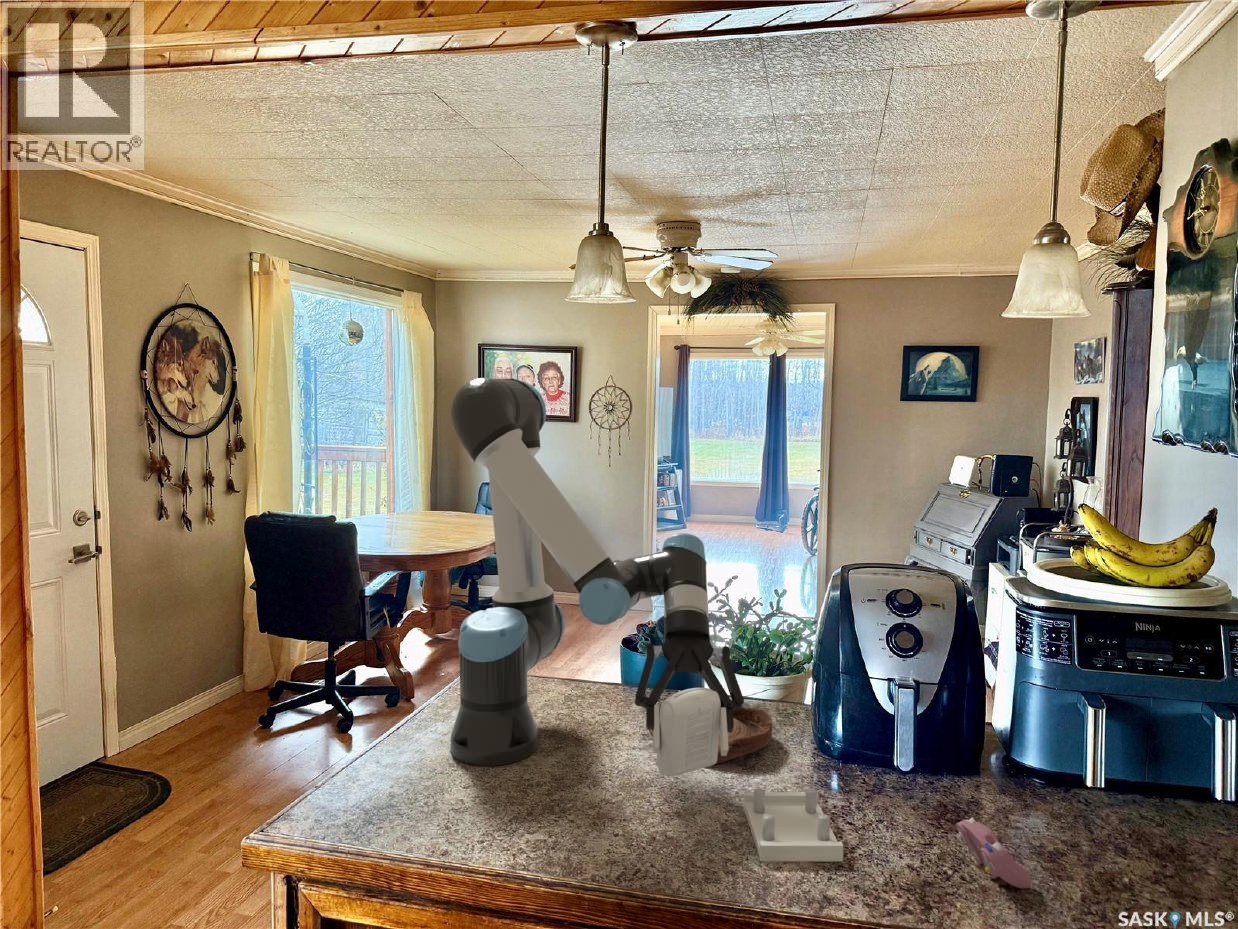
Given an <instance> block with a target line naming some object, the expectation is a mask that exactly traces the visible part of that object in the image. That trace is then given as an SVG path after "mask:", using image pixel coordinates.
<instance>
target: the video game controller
mask: <svg viewBox="0 0 1238 929" xmlns="http://www.w3.org/2000/svg"><path fill="white" fill-rule="evenodd" d="M955 828H956V830H957V832H958V833H956V837H957V840H958V841H959V842H960V843H962V844H963V843H965V845H967V847H968V848H969V850H970V852H971V853H972V855H973V857H974V858H975V860H977V862H978V863H979V864H980V865H984V871H985V872H986V873H987V874H989V875H990V876H991V877H992V878H993V879H994V880H995V879H997V878H999V877H1000V879H1002V880H1003V881H1005V882H1006V883H1008V884H1010V885H1011V886H1013V887H1015V888H1018V889H1021V890H1022V889H1023V890H1024V889H1029V888H1030V887H1031V885H1032V876H1031V874H1030V873H1029V871H1028V870H1026V869H1025V868H1024V867H1022V866H1021V865H1020V864H1019V863H1017V862H1016V861H1015V860H1014V859H1013V858H1012V857H1011V855H1010V854H1009V852H1008V851H1007V850H1006V849H1005V847H1004V846H1003V845H1002V844H1001V842H999V840H998V839H997V836H996V834H995V833H994V832H993V830H992V829H991V828H989V827H987V826H986V825H985V824H981V823H979V822H978V821H977V820H975V818H973V817H970V819H963V820H961V821H959V822H957V823H955Z"/></svg>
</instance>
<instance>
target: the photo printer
mask: <svg viewBox="0 0 1238 929" xmlns="http://www.w3.org/2000/svg"><path fill="white" fill-rule="evenodd" d="M661 703H662V704H661V707H660V720H659V731H660V748H659V752H658V753H657V754H656V755H657V757H656V758H657V761H656V763H657V764H656V765H657V768H658V771H659V773H660V774H662V775H663V776H666V777H677V776H679V775H680V776H681V775H684V774H688V773H691V772H694V771H696V770H701V769H704V768H708V767H711V766H713V765H715V763H716V762H717V756H718V740H719V724H720V709H721V702H720V698H719V695H718V693H717V692H716V691H713V690H712V689H710V688H709V687H692V688H687V689H684V690H680V691H678V692H675V693H674V694H671V695H670V696H668V697H666V698H665V699H664V700H663V701H662V702H661ZM716 764H717V763H716Z"/></svg>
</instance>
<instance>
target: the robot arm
mask: <svg viewBox="0 0 1238 929" xmlns="http://www.w3.org/2000/svg"><path fill="white" fill-rule="evenodd" d="M449 413H450V414H449V415H450V421H451V425H452V429H453V430H454V432H455V435H456V437H457V439H458V441H459V442H460V443H461V445H462V447H463V448H464V449H465V451H466V452H467V454H468V455H469V456H470V458H471V459H472V461H473V463H475V465H477V466H483V467H485V468H486V470H488V471H487V472H488V476H489V477H488V480H489V489H490V491H489V492H490V502H491V512H492V522H493V533H494V542H495V545H494V546H495V553H496V563H497V564H496V565H497V575H498V586H499V587H498V589H497V590H496V591H495V592H494V593H493V595H492V597H491V598H492V607H489V608H486V609H484V610H482V609H480V610H478V611H475V612H473V613H471V614H470V615H468V616H467V617H466V618H465V619H464V620H463V621H462V623H461V624H460V627H459V637H458V642H457V643H458V645H457V646H458V653H459V655H458V656H459V657H458V658H459V660H458V662H459V696H460V697H459V698H460V700H459V701H460V702H459V704H460V705H459V708H458V711H457V714H456V715H457V716H456V718H455V722H454V724H453V727H452V731H451V733H450V753H451V755H452V756H453V757H454V758H455V759H457V760H458V761H460V762H463V763H465V764H469V765H474V766H481V767H483V766H487V767H491V766H492V767H493V766H494V767H495V766H505V765H508V764H513V763H516V762H519V761H522V760H523V759H526V758H528V757H530V756H531V755H532V754H533V753H534V752H535V751H536V750H537V748H538V744H539V742H538V740H539V737H538V734H539V733H538V729H537V726H536V723H535V720H534V717H533V714H532V711H531V708H530V705H529V703H528V672H529V671H530V670H531V669H533V668H534V667H535V666H536V665H537V664H538V663H540V662H541V661H543V660H545V659H546V658H548V657H549V656H550V655H552V654H553V652H554V651H555V650H556V649H557V648H558V646H559V645H560V643H561V641H562V639H563V637H564V635H565V631H566V619H565V615H564V612H563V609H562V608H561V606H560V605H558V604H557V602H556V601H555V596H554V589H553V588H552V587H551V586H550V585H548V584H547V583H546V581H545V573H544V562H543V561H544V560H543V551H542V544H543V545H544V547H545V548H546V550H547V551H548V552H549V553H550V555H551V556H552V557H553V559H554V560H555V562H556V563H557V564H558V566H559V567H560V568H561V570H562V571H563V573H564V574H565V575H566V577H568V579H569V580H570V582H571V583H572V585H573V586H574V588H576V591H577V592H578V593H579V596H578V604H579V609H580V611H581V613H582V614H581V615H583V616H584V618H585V619H586V620H588V621H589V622H591V623H593V624H595V625H598V626H606V625H610V624H612V623H614V622H616V621H617V620H620V619H622V618H623V617H624V616H626V614H627V613H628V611H630V610H631V609H632V608H633V607H634V606H635V605H636V604H638V603H639V602H640V601H641V600H643V599H648V598H652V597H657V596H663V617H664V620H663V628H664V629H663V630H664V631H663V632H664V633H663V635H664V639H663V640H664V641H663V643H662V645H654V644H653V643H652V642H649V643H647V644H646V648H645V653H644V654H645V663H644V665H643V669H642V672H641V675H640V680H639V683H638V686H637V690H636V694H635V697H634V704H635V706H637V707H643V708H644V710H645V715H646V716H645V727H646V730H648V731H649V730H653V737H652V741H653V742H652V743H653V746H652V747H653V750H652V752H653V754H658V752H659V748H660V731H659V705H656V704H658V701H659V699H660V697H661V696H662V694H663V693H664V691H665V689H666V687H667V685H668V684H669V682H670V680H671V679H672V677H673V676H674V674H675V673H676V671H677V673H686V672H689V673H691V674H697V673H699V675H700V677H701V679H703V680H704V682H705V683H706V685H707V688H708V689H712V690H713V691H716V692H717V693H718V695H719V698H720V702H721V709H720V724H719V728H720V745H721V756H726V755H727V752H728V750H729V749H728V733H732V730H733V727H734V721H733V711H734V710H740V709H741V708H742V706H743V705H744V701H745V699H744V696H743V694H742V691H741V688H740V685H739V682H738V680H737V679H738V678H737V676H736V674H735V671H734V668H733V664H732V662H731V660H730V658H731V657H730V656H731V649H730V647H729V646H728V645H727V646H723V647H722V648H719V647H714V646H713V645H712V642H711V638H710V636H711V635H710V621H709V620H710V619H709V602H708V588H707V586H708V585H707V584H708V581H707V580H708V579H707V560H706V552H705V545H704V543H703V540H701V539H700V538H699V537H698V536H696V535H695V534H692V533H683V532H681V533H675V534H671V535H670V537H667V538H666V539H665V540H664V542H663V545H662V549H661V551H658V552H655V553H651V554H647V555H641V556H635V557H630V558H625V559H616V560H612V559H611V557H609V554H608V553H607V552H606V551H605V550H604V548H603V547H602V545H601V544H600V543H599V541H598V540H597V539H596V537H595V536H594V535H593V533H592V532H591V531H590V530H589V528H588V527H587V525H586V524H585V522H584V521H583V520H582V518H581V517H580V516H579V515H578V513H577V512H576V511H575V509H574V508H573V507H572V505H571V503H569V501H568V500H567V499H566V497H565V496H564V495H563V493H562V492H561V491H560V490H559V488H558V487H557V486H556V483H555V482H554V481H553V480H552V479H551V477H550V476H549V475H548V473H547V472H546V471H545V470H544V468H543V467H542V465H541V464H540V463H539V461H537V459H536V457H535V455H536V454H538V452H539V451H540V449H541V437H540V432H541V430H542V429H543V427H544V425H545V423H546V419H547V406H546V402H545V400H544V398H543V396H542V394H541V393H540V392H539V390H538V389H536V388H535V387H534V386H533V385H531V384H530V383H528V382H526V381H522V380H519V379H517V378H512V377H511V378H508V377H507V378H492V377H479V378H474V379H471V380H469V381H467V382H466V383H464V384H463V385H461V386H460V387H459V388H458V389H457V391H456V392H455V394H454V396H453V398H452V401H451V403H450V412H449ZM660 655H662V656H663V657H664V658H665V660H666V661H667V665H666V666H665V668H664V670H663V672H662V673H661V674H660V675H661V676H660V677H659V678H658V680H657V682H656V684H655V685H654V687H653V689H652V690H651V692H650V694H649V695H648V696H647V695H646V693H647V692H646V691H647V688H648V684H649V681H650V678H651V674H652V670H653V668H654V662H655V661H656V660H658V659H659V656H660ZM711 657H714V658H715V661H717V663H719V664H720V669H721V672H722V676H723V678H724V681H725V684H726V687H727V689H728V693H729V694H728V693H727V691H726V689H725V688H724V687H723V685H722V683H721V681H720V680H719V679H718V677H717V675H716V674H715V672H714V671H713V669H712V665H711V664H710V662H709V661H710V659H711ZM729 695H730V696H729Z"/></svg>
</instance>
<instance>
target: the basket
mask: <svg viewBox="0 0 1238 929" xmlns="http://www.w3.org/2000/svg"><path fill="white" fill-rule="evenodd" d="M661 704H662V702H659V703H658V702H657V703H656V705H659V720H660V707H661ZM733 721H734V727H733V730H732V733H728V749H729V750H728V752H727V755H726V756H721V745H720V728H719V740H718V756H717V762H716V763H715V764H720V763H721V764H722V763H725V762H727V761H730V760H734V759H737V758H739V757H740V758H741V757H742V756H744V755H747V754H748V755H749V754H752V753H754V752H756V751H759V750H760V749H762V748H764V747H765V746H766V745H768V744H769V742H771V739H772V736H773V735H772V734H773V718H772V716H771V714H769V713H768V712H767V711H766V710H765V709H763V708H759V707H756V706H754V707H751V706H743V705H742V708H741V709H740V710H734V711H733ZM648 731H649V733H650V735H651V737H652V738H653V730H648ZM715 764H714V765H715Z"/></svg>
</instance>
